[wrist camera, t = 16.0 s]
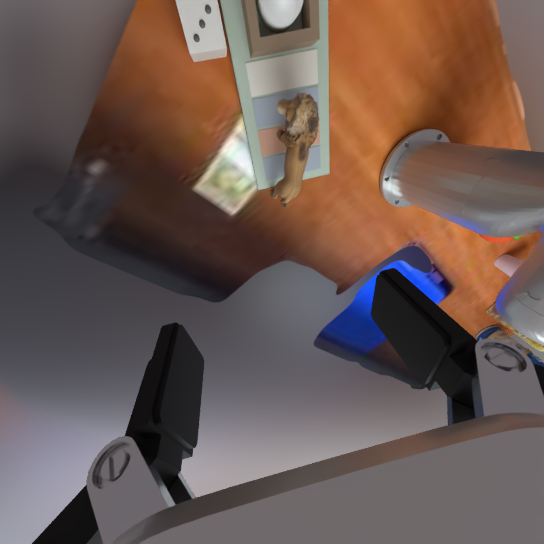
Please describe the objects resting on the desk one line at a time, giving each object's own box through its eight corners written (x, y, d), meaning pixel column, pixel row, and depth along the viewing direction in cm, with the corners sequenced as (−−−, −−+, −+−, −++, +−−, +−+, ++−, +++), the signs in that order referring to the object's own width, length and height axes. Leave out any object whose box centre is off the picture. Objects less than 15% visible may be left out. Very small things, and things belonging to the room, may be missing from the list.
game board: (322, -76, 22) (340, -110, 19) (326, 172, 36) (336, 177, 33) (208, -55, 22) (205, -87, 18) (257, 187, 36) (260, 195, 33)
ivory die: (216, 7, 24) (215, -11, 21) (226, 56, 27) (226, 47, 23) (181, 13, 24) (174, -5, 21) (194, 62, 26) (189, 54, 23)
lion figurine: (267, 96, 28) (281, 89, 21) (306, 96, 29) (333, 89, 22) (269, 207, 37) (280, 228, 30) (299, 205, 38) (317, 225, 30)
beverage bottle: (476, 342, 83) (536, 396, 67) (472, 334, 78) (536, 389, 62) (498, 330, 80) (566, 383, 64) (496, 321, 76) (568, 375, 60)
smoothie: (492, 273, 60) (553, 309, 49) (485, 263, 57) (549, 298, 46) (516, 257, 58) (586, 290, 47) (510, 245, 55) (584, 277, 44)
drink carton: (506, 290, 66) (569, 330, 54) (515, 291, 67) (579, 330, 55) (484, 311, 71) (538, 352, 59) (493, 312, 72) (548, 351, 60)
